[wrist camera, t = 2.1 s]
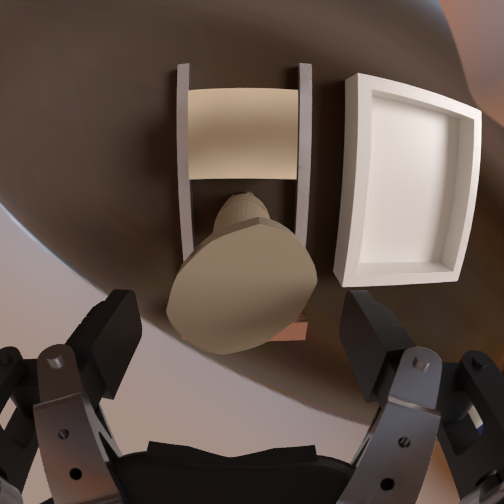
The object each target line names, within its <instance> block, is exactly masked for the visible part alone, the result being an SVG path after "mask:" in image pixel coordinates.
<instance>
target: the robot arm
mask: <svg viewBox="0 0 504 504" xmlns="http://www.w3.org/2000/svg"><path fill="white" fill-rule="evenodd" d="M339 333H340V339H341V342H342V345H343V347H344V349H345V352H346V354H347V356H348V359H349V361H350V364H351V366H352V369H353V371H354V374H355V376H356V379H357V381H358V384H359V386H360V389H361V391H362V394H363V396H364V399H365V401H366V403H368V402H374V401H378V403H379V405H380V406H379V408H378V410H377V412H376V414H375V416H374V418H373V421H372V423H371V425H370V427H369V429H368V431H367V433H366V435H365V438H364V439H363V441H362V444H361V445H360V447H359V449H358V451H357V453H356V455H355V456H354V458H353V460H352V461H351V463H350V464H349V463H346V462H344V461H341V460H338V459H335V458H332V457H326V456H320V455H317V454H316V449H315V445H310V446H300V447H287V448H273V449H269V450H265V451H261V452H257V453H252V454H248V455H243V456H238V457H224V456H220V455H217V454H213V453H209V452H206V451H202V450H199V449H196V448H192V447H189V446H182V445H174V444H166V443H159V442H153V441H149V444H148V448H147V451H143V452H135V453H131V454H127V455H124V456H123V454H122V453H121V451H120V449H119V447H118V446H117V444H116V441H115V439H114V437H113V435H112V432H111V430H110V428H109V425H108V423H107V420H106V418H105V415H104V413H103V410H102V408H101V406H100V404H99V402H100V400H101V398H102V397H103V398H107V399H112V400H113V399H114V397H115V395H116V393H117V390H118V388H119V386H120V383H121V381H122V379H123V377H124V374H125V372H126V370H127V368H128V365H129V363H130V361H131V359H132V356H133V354H134V352H135V350H136V348H137V346H138V344H139V341H140V339H141V336H142V323H141V319H140V315H139V310H138V306H137V301H136V296H135V293H134V291H133V290H121V289H114V290H113V291H112V292H111V293H110V295H109V296H108V297H107V298H106V300H105V301H102V302H100V303H99V304H97V305H96V306H94V307H93V308H92V309H91V310H90V312H89V313H88V314H87V315H86V317H85V318H84V319H83V321H82V322H81V324H79V326H78V327H77V328H76V330H75V331H74V332H73V333H72V335H71V336H70V337H69V339H68V340H67V342H66V343H65V344H56V345H53V346H50V347H48V348H46V349H45V350H43V351H42V352H41V353H40V355H39V357H38V359H23V357H22V356H21V354H20V352H19V350H18V349H17V348H16V347H12V346H10V347H4V348H2V349H0V414H1V412H2V410H3V408H4V406H5V405H6V403H7V401H8V399H9V398H11V399H12V401H13V402H14V404H15V405H16V409H15V411H14V413H13V415H12V417H11V419H10V420H9V422H8V424H7V426H6V428H5V430H3V429H2V427H1V425H0V504H24V503H23V500H22V496H21V494H22V491H23V488H24V485H25V482H26V479H27V476H28V473H29V471H30V468H31V465H32V462H33V459H34V457H35V454H36V452H37V449H38V447H39V448H40V454H41V458H42V462H43V466H44V470H45V474H46V478H47V481H48V484H49V488H50V491H51V494H52V497H51V498H50V499H48V500H46V501H44V502H42V503H40V504H415V503H416V501H417V498H418V495H419V493H420V490H421V487H422V485H423V482H424V479H425V476H426V473H427V470H428V466H429V463H430V460H431V456H432V452H433V448H434V444H435V441H436V437H438V440H439V442H440V445H441V447H442V450H443V452H444V455H445V458H446V460H447V463H448V465H449V468H450V471H451V474H452V476H453V479H454V482H455V485H456V488H457V491H458V494H459V497H460V500H461V501H460V503H459V504H504V375H503V374H502V373H501V371H500V370H499V368H498V367H497V366H496V364H495V363H494V362H493V360H492V359H491V358H490V357H489V356H488V355H486V354H485V353H483V352H481V351H477V350H470V351H467V352H465V353H464V355H463V356H462V358H461V360H460V362H459V363H450V362H442V361H441V359H440V357H439V356H438V355H437V354H436V353H435V352H433V351H432V350H429V349H427V348H424V347H416V345H415V344H414V342H413V341H412V339H411V338H410V337H409V335H408V334H407V332H406V331H405V330H404V328H403V327H402V325H401V326H400V323H399V321H398V320H397V319H395V316H394V315H393V313H392V312H391V310H390V309H389V308H387V307H386V306H384V305H383V304H381V303H380V302H376V301H375V300H374V299H373V297H372V296H371V295H370V293H369V292H368V291H367V290H358V291H348V292H347V293H346V296H345V301H344V306H343V311H342V317H341V321H340V328H339ZM473 405H474V407H475V409H476V411H477V413H478V414H479V416H480V418H481V420H482V422H483V431H482V434H481V436H480V434H479V432H478V430H477V428H476V426H475V424H474V422H473V421H472V419H471V417H470V415H469V413H468V411H469V410H470V409H471V407H472V406H473Z"/></svg>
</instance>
